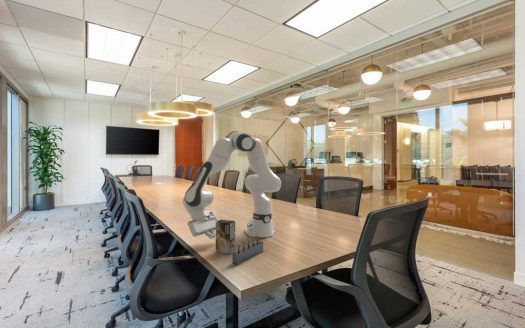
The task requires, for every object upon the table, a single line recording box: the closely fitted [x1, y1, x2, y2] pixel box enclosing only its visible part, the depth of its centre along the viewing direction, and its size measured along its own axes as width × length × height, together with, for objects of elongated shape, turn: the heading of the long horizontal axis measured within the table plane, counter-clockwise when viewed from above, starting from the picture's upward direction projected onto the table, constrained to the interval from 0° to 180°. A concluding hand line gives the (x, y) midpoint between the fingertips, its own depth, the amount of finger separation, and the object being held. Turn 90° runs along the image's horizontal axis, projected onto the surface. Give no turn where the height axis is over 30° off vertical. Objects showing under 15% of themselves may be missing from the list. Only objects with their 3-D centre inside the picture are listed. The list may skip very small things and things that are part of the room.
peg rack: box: [231, 235, 264, 266], centre depth 130 cm, size 3×22×9 cm, turn 146°
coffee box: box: [215, 219, 236, 255], centre depth 139 cm, size 9×6×16 cm
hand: (213, 237), depth 144 cm, fingers closed
